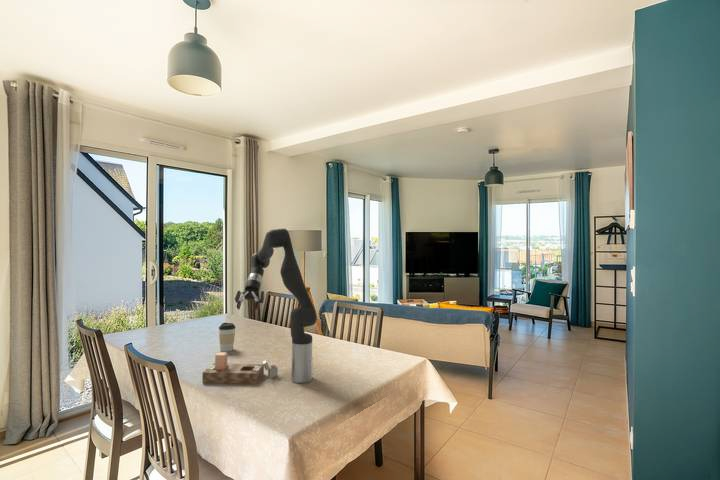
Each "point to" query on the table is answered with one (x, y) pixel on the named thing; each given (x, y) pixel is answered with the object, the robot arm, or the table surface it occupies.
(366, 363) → the table surface
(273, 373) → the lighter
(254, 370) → the slot holder
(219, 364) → the peg
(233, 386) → the table surface
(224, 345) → the coffee cup
